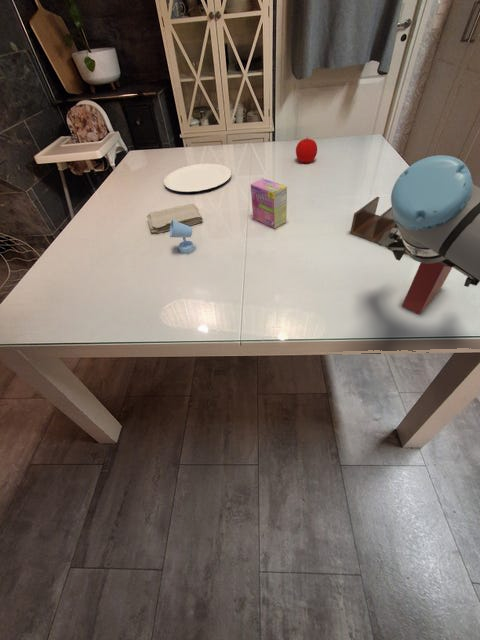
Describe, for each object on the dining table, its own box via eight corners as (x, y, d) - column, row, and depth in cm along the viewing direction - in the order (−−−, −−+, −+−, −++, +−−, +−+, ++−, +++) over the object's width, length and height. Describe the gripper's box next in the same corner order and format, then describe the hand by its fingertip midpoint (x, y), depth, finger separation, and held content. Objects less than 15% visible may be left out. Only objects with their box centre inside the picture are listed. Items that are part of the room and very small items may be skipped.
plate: (236, 165, 135) (236, 161, 134) (225, 194, 116) (224, 190, 114) (175, 167, 140) (174, 164, 139) (154, 195, 120) (153, 191, 119)
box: (252, 218, 101) (250, 183, 92) (264, 212, 103) (263, 177, 95) (274, 229, 95) (274, 192, 87) (286, 222, 98) (287, 186, 89)
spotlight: (175, 256, 89) (197, 251, 90) (166, 226, 82) (190, 221, 83) (173, 247, 93) (195, 243, 94) (165, 218, 86) (188, 213, 86)
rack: (436, 236, 85) (445, 215, 80) (415, 257, 79) (424, 236, 75) (372, 216, 96) (377, 196, 91) (349, 233, 90) (354, 213, 85)
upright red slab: (440, 289, 71) (471, 232, 60) (419, 314, 66) (448, 258, 55) (423, 282, 73) (449, 226, 62) (401, 306, 68) (425, 250, 57)
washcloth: (147, 219, 107) (145, 211, 105) (195, 208, 110) (194, 200, 108) (152, 235, 99) (149, 227, 97) (203, 223, 102) (202, 214, 100)
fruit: (291, 163, 132) (292, 137, 125) (302, 156, 136) (303, 131, 129) (309, 166, 127) (311, 140, 120) (320, 159, 132) (322, 134, 124)
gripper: (343, 229, 51) (368, 260, 69) (515, 292, 38) (491, 310, 56) (366, 187, 50) (385, 230, 67) (553, 237, 37) (517, 274, 54)
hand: (433, 266), depth 61 cm, fingers open, 13 cm apart
